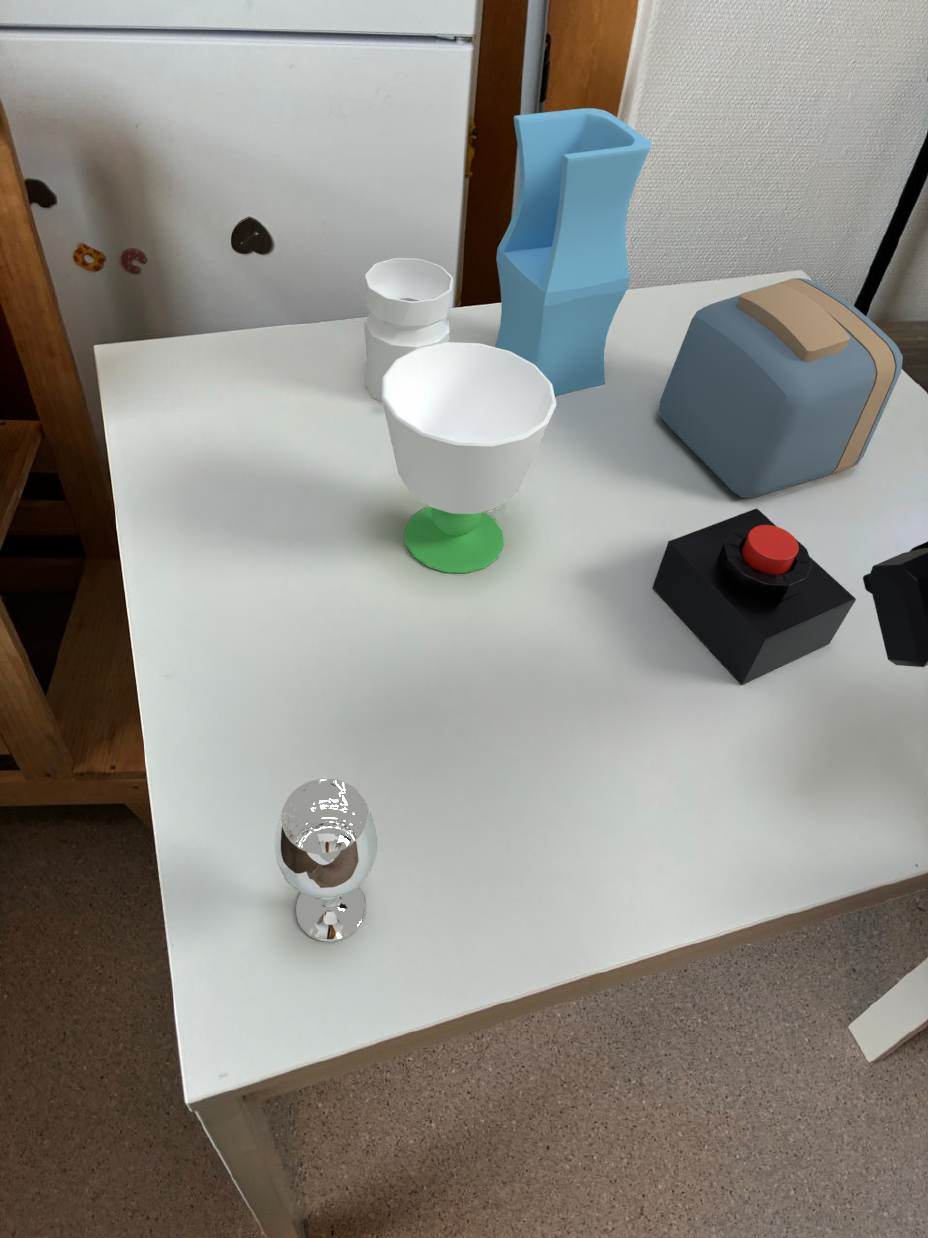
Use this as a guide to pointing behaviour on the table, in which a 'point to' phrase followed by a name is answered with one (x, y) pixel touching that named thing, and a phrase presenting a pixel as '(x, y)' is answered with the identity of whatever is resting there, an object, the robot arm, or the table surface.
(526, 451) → the cup
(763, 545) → the button
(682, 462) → the table surface
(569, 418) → the table surface
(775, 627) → the control block
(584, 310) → the vase
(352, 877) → the wineglass
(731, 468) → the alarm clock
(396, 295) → the vase
